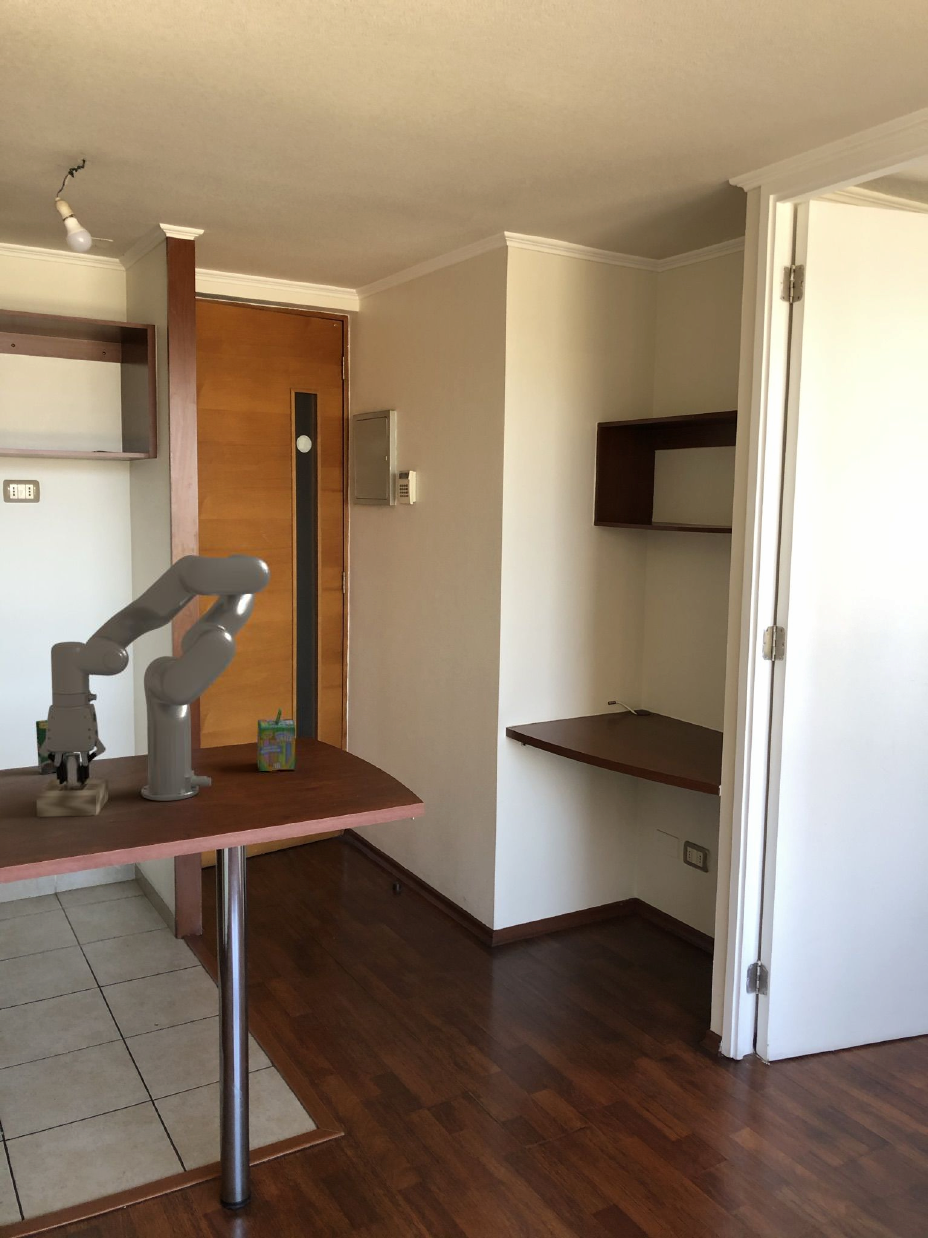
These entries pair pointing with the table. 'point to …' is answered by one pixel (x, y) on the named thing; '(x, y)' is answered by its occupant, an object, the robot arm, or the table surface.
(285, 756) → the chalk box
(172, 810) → the table surface
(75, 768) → the steel peg
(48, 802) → the wooden square hole block
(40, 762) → the coffee box
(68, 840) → the table surface
